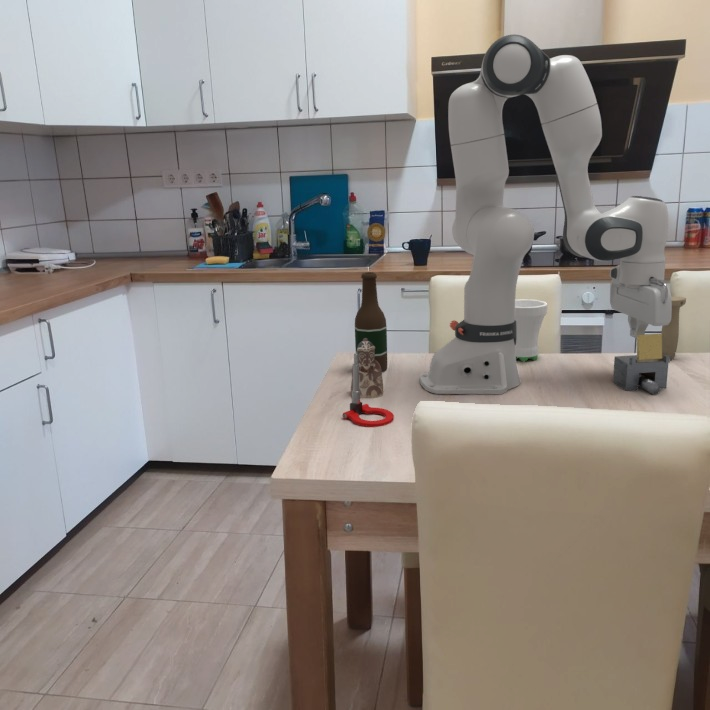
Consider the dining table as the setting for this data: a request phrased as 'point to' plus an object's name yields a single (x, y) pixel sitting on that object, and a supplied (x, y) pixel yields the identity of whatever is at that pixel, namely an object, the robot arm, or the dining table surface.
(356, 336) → the beer bottle
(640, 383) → the orange piece
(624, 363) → the block
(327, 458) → the dining table surface
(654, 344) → the keeper flap
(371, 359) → the figurine
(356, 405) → the tow hook
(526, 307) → the cup
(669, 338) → the handle
